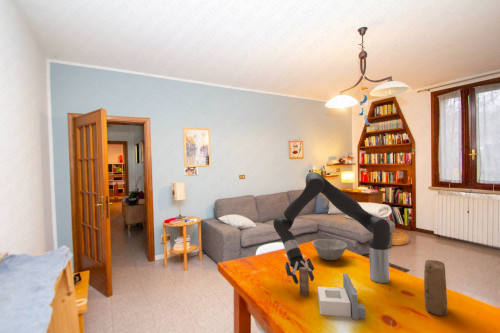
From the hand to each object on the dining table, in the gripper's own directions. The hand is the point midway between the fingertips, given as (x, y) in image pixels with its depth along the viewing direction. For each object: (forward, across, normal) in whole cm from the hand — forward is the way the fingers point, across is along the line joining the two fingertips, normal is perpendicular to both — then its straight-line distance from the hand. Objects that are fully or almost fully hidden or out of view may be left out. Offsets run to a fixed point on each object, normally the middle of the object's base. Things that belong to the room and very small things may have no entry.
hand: (305, 281), depth 117 cm
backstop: (+16, +14, -7) cm, 22 cm away
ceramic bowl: (-19, +40, +28) cm, 52 cm away
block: (+26, +44, -18) cm, 54 cm away
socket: (+14, +6, -5) cm, 16 cm away
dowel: (+4, 0, +5) cm, 6 cm away
